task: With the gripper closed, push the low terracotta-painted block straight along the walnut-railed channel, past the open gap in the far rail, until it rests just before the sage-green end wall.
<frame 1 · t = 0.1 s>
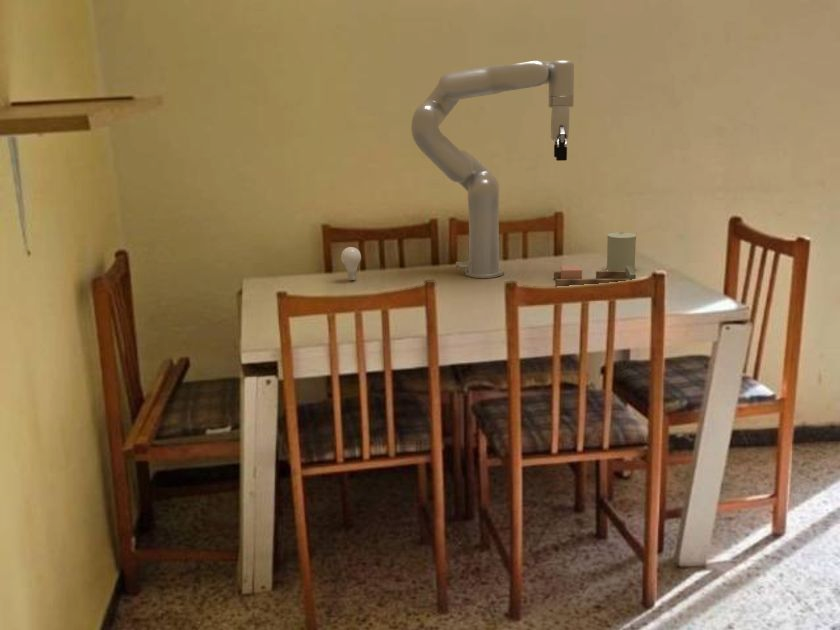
hand: (560, 158, 277), 37 cm above the table, tool pointing down, fingers open, 9 cm apart
block: (571, 283, 274), on the table
lightbulb: (352, 281, 286), on the table
channel: (591, 283, 274), on the table
can: (620, 270, 290), on the table
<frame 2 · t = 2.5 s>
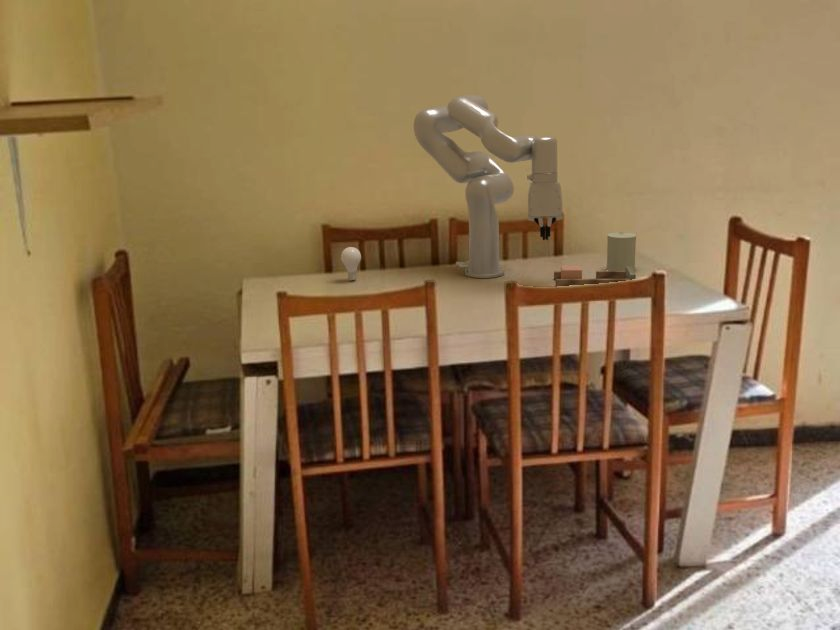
hand: (545, 239, 271), 14 cm above the table, tool pointing down, fingers closed
nothing on the table moved.
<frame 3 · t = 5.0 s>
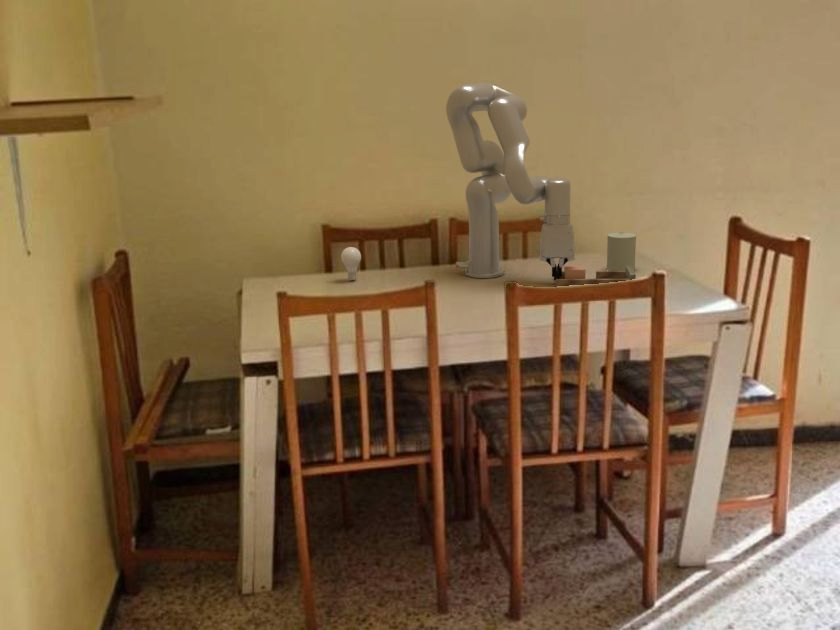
hand: (556, 279, 274), 1 cm above the table, tool pointing down, fingers closed
block: (574, 283, 274), on the table, touching gripper
everything else where it was.
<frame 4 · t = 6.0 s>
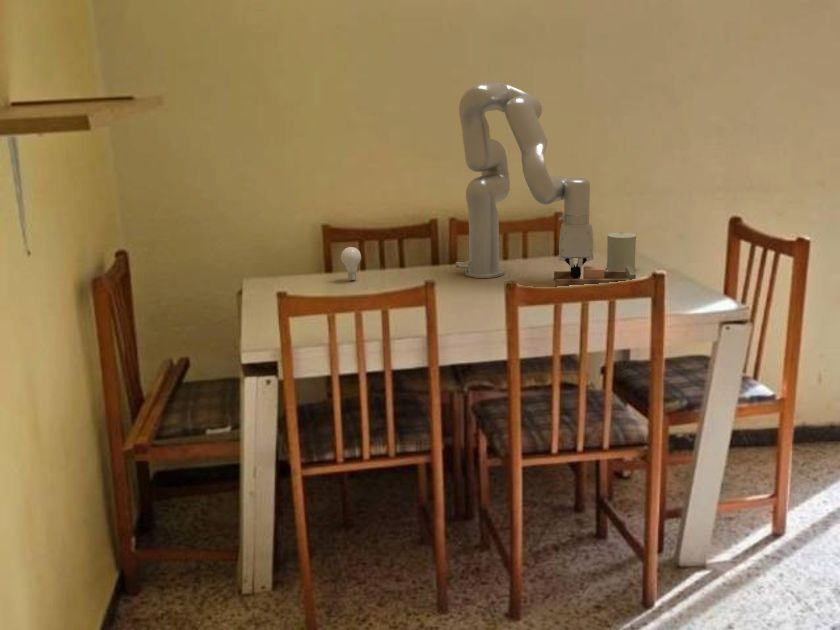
hand: (575, 278, 274), 1 cm above the table, tool pointing down, fingers closed
block: (593, 283, 273), on the table, touching gripper
everything else where it was.
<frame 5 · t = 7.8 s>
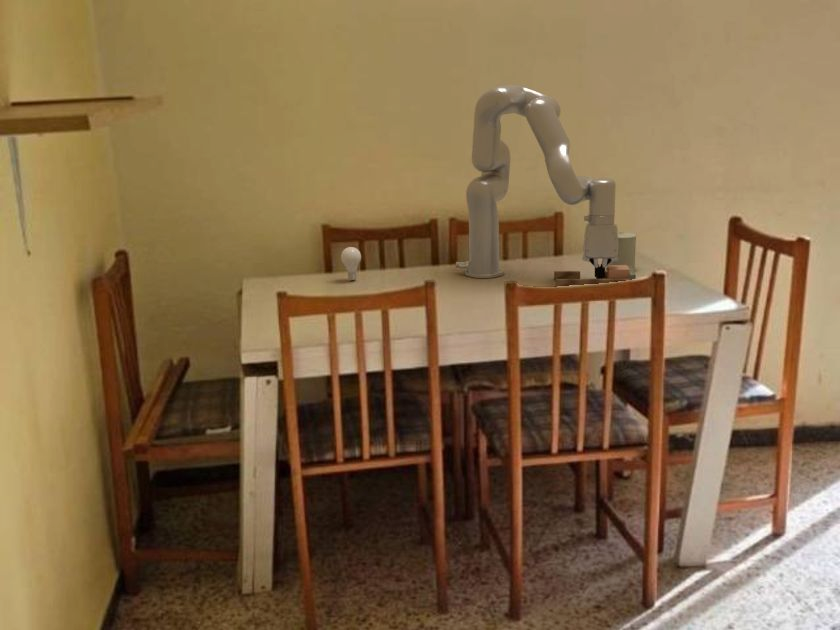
hand: (599, 279, 273), 1 cm above the table, tool pointing down, fingers closed
block: (617, 283, 273), on the table, touching channel, gripper
everything else where it was.
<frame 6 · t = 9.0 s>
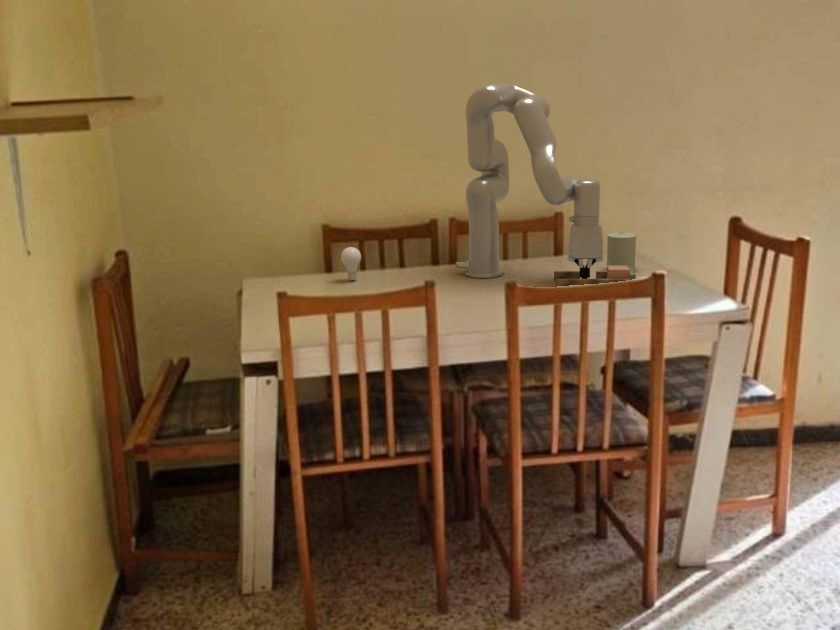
hand: (584, 279, 274), 1 cm above the table, tool pointing down, fingers closed
block: (617, 283, 273), on the table
everything else where it was.
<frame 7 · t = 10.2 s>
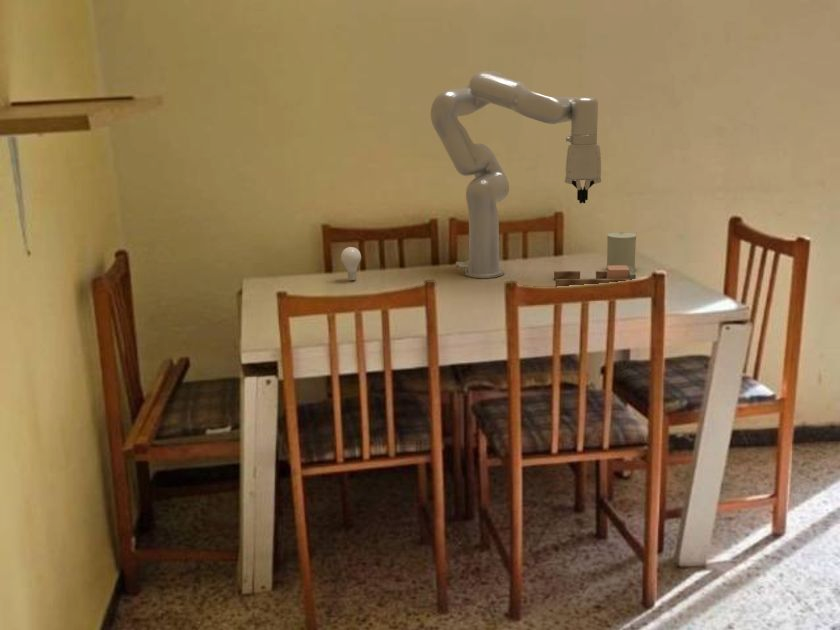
hand: (582, 202, 267), 25 cm above the table, tool pointing down, fingers closed
nothing on the table moved.
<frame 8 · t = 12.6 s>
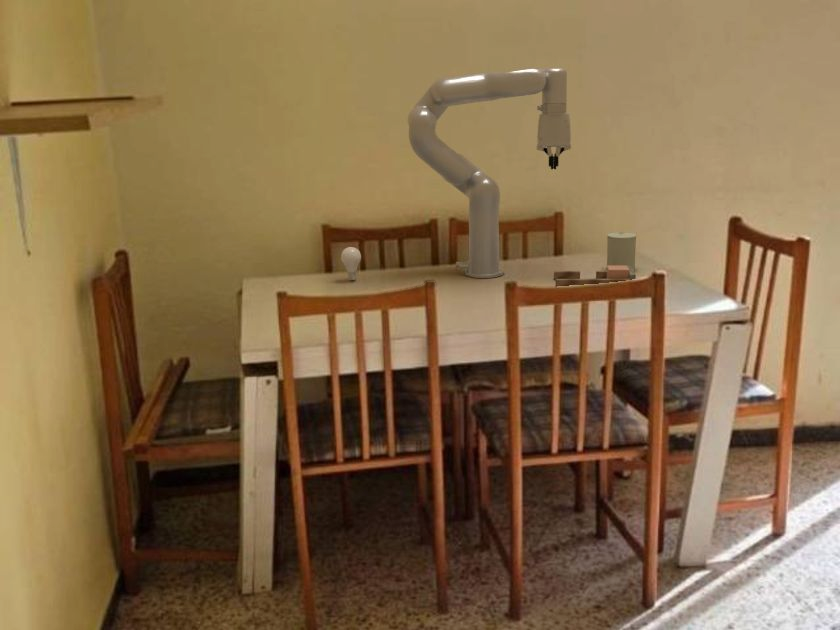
hand: (553, 168, 282), 33 cm above the table, tool pointing down, fingers closed
nothing on the table moved.
at the end: block inside the target area (0.0 cm from its centre), on the table; block tilted 0° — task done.
